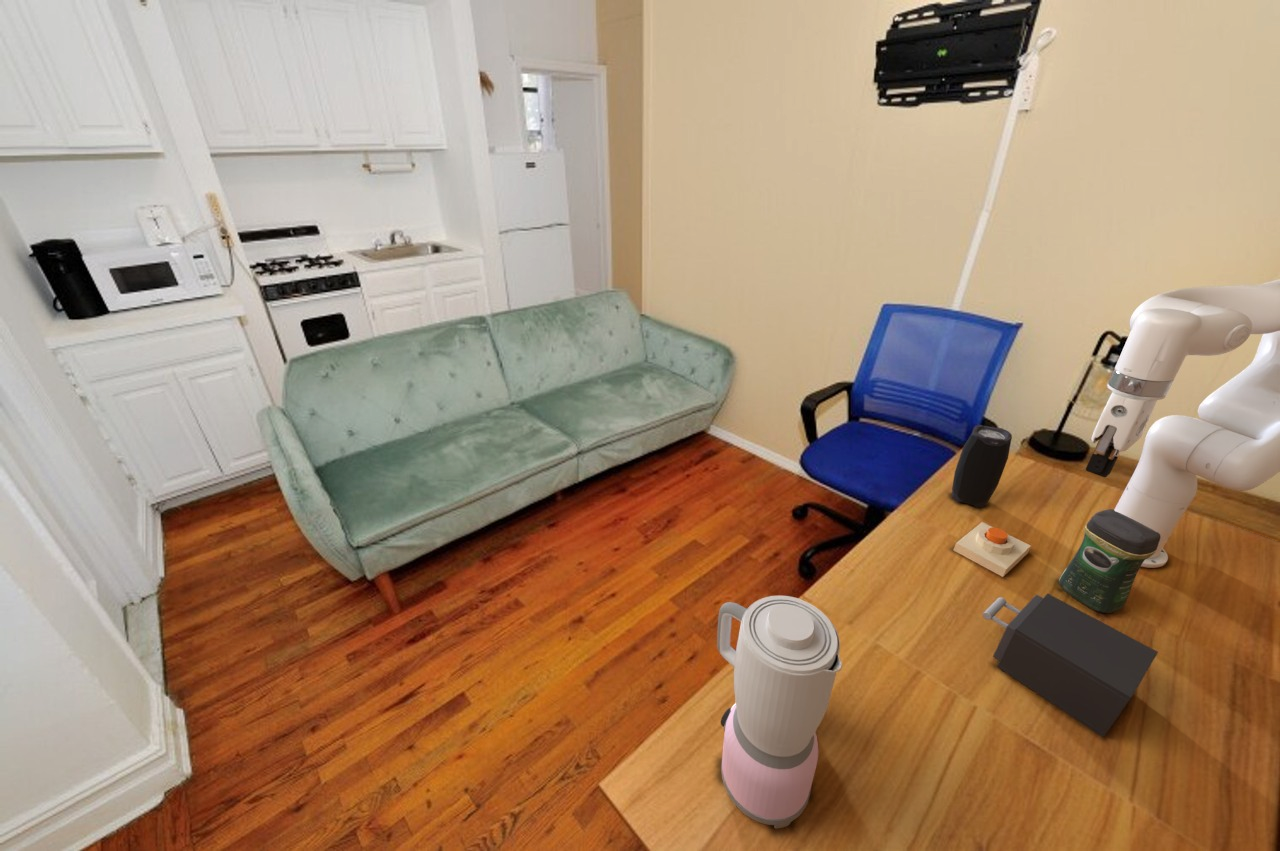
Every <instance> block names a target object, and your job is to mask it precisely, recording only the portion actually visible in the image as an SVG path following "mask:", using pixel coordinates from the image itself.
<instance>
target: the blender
mask: <svg viewBox="0 0 1280 851" xmlns="http://www.w3.org/2000/svg"><path fill="white" fill-rule="evenodd" d="M718 611H719V613H718V618H717V632H716V633H717V634H716V645H717V646H716V647H717V650H718V652H719V654H720V655H721V657H722V658H723V659H724V660H725V661H726V662H728V664H730V665H731V666H732V667H733V692H734V700H735V703H734V704H733V705H732V706H731V707H728V708H727V709H726V710H725V711H724V713H723V714H722V716H721V719H720V725H721V726H722V727H723V732H724V735H723V744H722V757H721V765H720V766H721V767H720V771H721V779H722V783H723V786H724V789H725V791H726V793H727V795H728V797H729V798H730V800H731V802H732V803H733V804H734V805H735V806H736V808H737V809H738V810H739V811H740V812H741V813H742V814H744V815H745V816H747V817H748V818H750V819H752V820H753V821H756V822H758V823H760V824H764V825H768V826H773V827H774V829H782V828H786V827H789V826H790V825H791V823H792V822H793V821H795V820H796V819H798V818H799V817H800V816H801V814H803V812H804V811H805V809H806V807H807V805H808V803H809V800H810V798H811V797H810V796H811V792H812V785H813V781H814V778H815V773H816V770H817V765H818V760H819V742H818V737H817V733H816V732H817V729H818V728H819V726H820V724H821V723H822V720H823V719H824V716H825V714H826V712H827V709H828V707H829V705H830V704H829V703H830V700H831V696H832V691H833V687H834V684H835V680H836V675H837V672H839V671H842V667H843V663H842V661H841V659H840V650H841V649H840V648H841V641H840V636H839V634H838V631H837V629H836V627H835V625H834V623H833V622H832V621H831V620H830V618H829V617H828V616H827V615H826V613H824V612H823V611H821V610H820V609H819V608H818V607H816V606H815V605H813V604H812V603H810V602H808V601H806V600H803V599H801V598H798V597H794V596H790V595H780V594H779V595H770V596H765V597H762V598H759V599H758V600H756V601H754V602H753V603H751V604H749V607H747V608H746V607H744V606H742V605H741V604H739V603H737V602H734V601H729V602H724V603H723V604H722V605H721V606H720V608H719V610H718ZM733 618H734V619H735V620H737V621H738V622H740V627H739V632H738V637H737V642H736V648H735V649H734V648H733V647H732V646H731V631H732V623H733V622H732V621H733Z"/></svg>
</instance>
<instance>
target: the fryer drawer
mask: <svg viewBox="0 0 1280 851" xmlns="http://www.w3.org/2000/svg"><path fill="white" fill-rule="evenodd" d="M1043 598H1044V597H1042V596H1040V595H1038V594H1035V595H1034V596H1033V597H1032V598H1031V599H1030V601H1029V602H1028V603H1027V604H1026V605H1025V606H1024V607H1023V608H1022V609H1019V608H1017V607H1015V606H1013V605H1012V604H1010V603H1008V602H1007V600H1006V599H1005V598H1004V597H1003V596H1000V597H998V598H996V600H994V602H992V603H991V604H990V606H988V607H987V609H985V610H984V611H983V613H982V617H983V619H985V620H987V621H993V622H994V623H996V624H998V625H1000V626H1001V627H1003V628H1004V632H1003V634H1002V636H1001V638H1000V640H999V643H998V645H997V647H996V649H995V651H994V653H993V655H992V658H994V659H996V660H997V661H999V662H1000V660H1001V658H1002V656H1003V654H1004V652H1005V650H1006V648H1007V646H1008V644H1009V641H1010V639H1011V637H1012V635H1013V633H1014V631H1015V629H1016V628H1017V627H1018V625H1019V624H1020V623H1021V622H1022V621H1023V620H1024V619H1025V618H1026V617H1027V615H1028V614H1029V613H1030V612H1031V611H1032V610H1033V609H1034V608H1035V607H1036V606H1037V604H1038V603H1039V602H1040V601H1041V600H1042V599H1043ZM1003 608H1006V609H1008V610H1010V611H1012V613H1015V614H1017V615H1016V616H1014V618H1012V620H1011V621H1010V622H1009V623H1007V622H1005V621H1003V620H1002V619H1000V618H998V617H997V616H996V615H997V614H998V613H999V612H1000V611H1001V610H1002V609H1003Z"/></svg>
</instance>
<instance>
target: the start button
mask: <svg viewBox="0 0 1280 851" xmlns="http://www.w3.org/2000/svg"><path fill="white" fill-rule="evenodd" d="M1008 535H1009V534H1008V533H1007V532H1006V531H1005V530H1004V529H1002V528H999V527H993V528H989V529H988V531H987V534H986V538H987V539H988V540H989V541H991V542H993V543H996V544H1000V545H1002V544H1005V542H1006V540H1007V537H1008Z"/></svg>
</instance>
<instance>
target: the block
mask: <svg viewBox="0 0 1280 851" xmlns="http://www.w3.org/2000/svg"><path fill="white" fill-rule="evenodd" d="M989 528H994V527H993V526H991V525H989V524H987V523H986V522H983V521H981V522H980V523H979V524H977V526H975V527H974V528H973V529H971V530H970V531H969V532H968V533H966V534H965V535H964V536H963V537H962V538H960V539H959V540H958V541H957V542H956V543H955V545H954V548H953V551H954V552H955V553H957V554H960V555H962V556H963V557H964V558H967V559H969V560H971V561H972V562H974V563H976V564H977V565H979V566H981V567H983V568H985V569H986V570H989V571H991V572H993V573H995V574H996V575H998V576H1000V577H1002V578H1004V577H1005V576H1006V574H1008V573H1009V572H1010V571H1011V570H1012V569H1013V568H1015V567H1016V565H1017V564H1019V563H1020V561H1021V560H1023V558H1025V557H1026V556H1027V555H1028V554H1029V551H1030V549H1031V548H1032V545H1030V544H1028V543H1026V542H1024V541H1022V540H1021V539H1018V538H1016V537H1014V536H1012V535H1010V534H1008V537H1007V540H1006V542H1005V544H1002V545H1000V544H996V543H993V542H991V541H989V540H988V539H987V538H986V534H987V531H988V529H989Z"/></svg>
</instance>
